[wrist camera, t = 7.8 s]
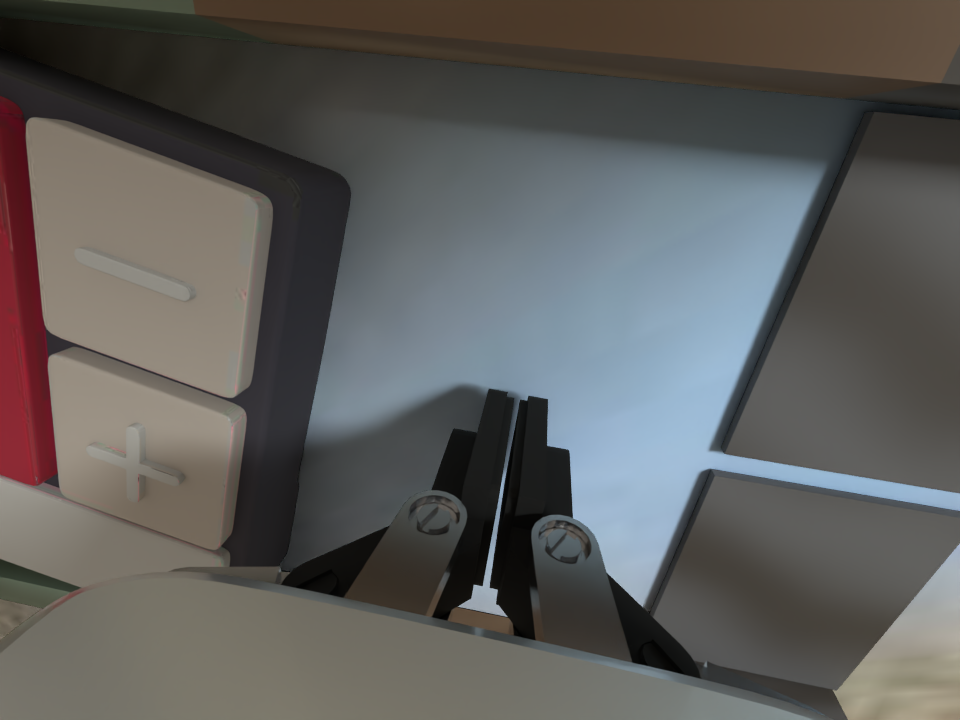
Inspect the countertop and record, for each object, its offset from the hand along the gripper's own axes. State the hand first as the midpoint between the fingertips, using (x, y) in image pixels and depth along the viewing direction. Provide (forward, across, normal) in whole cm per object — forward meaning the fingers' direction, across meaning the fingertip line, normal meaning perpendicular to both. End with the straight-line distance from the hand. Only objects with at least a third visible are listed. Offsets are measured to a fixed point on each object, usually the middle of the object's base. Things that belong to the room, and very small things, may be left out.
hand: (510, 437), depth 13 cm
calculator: (+2, +12, 0) cm, 12 cm away
